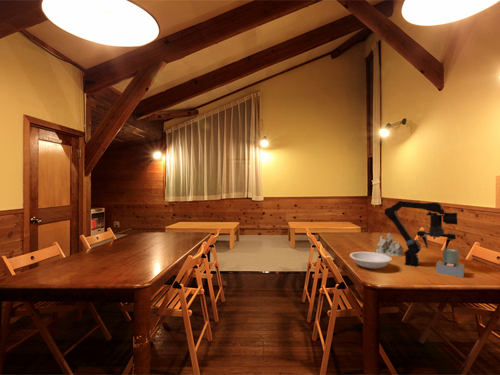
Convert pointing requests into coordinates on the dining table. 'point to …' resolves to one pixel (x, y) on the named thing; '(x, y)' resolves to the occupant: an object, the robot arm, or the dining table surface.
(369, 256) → the soup bowl
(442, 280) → the dining table surface
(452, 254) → the cup
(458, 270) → the box
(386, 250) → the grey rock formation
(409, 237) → the robot arm
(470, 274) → the dining table surface
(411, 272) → the dining table surface
